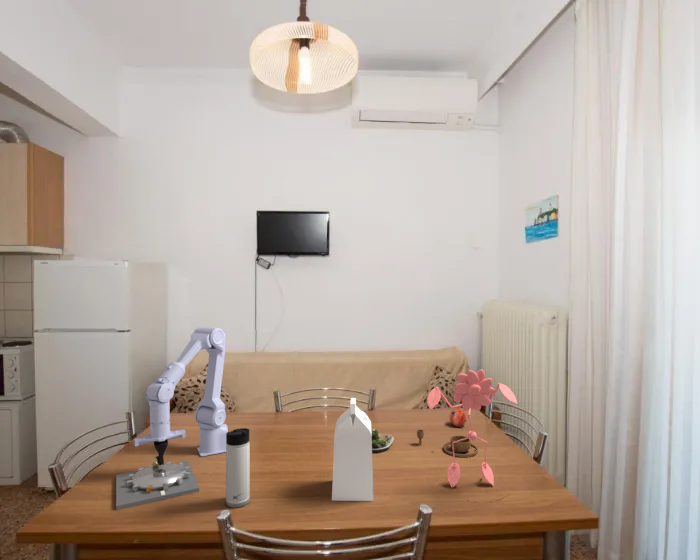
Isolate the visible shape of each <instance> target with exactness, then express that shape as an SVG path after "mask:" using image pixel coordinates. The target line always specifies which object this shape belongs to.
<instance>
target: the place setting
mask: <svg viewBox="0 0 700 560" xmlns="http://www.w3.org/2000/svg"><path fill="white" fill-rule="evenodd" d="M424 433H425V432H424V429H417V430H416V437H417V438H418V439H419V440H418V446H420V447H421V446H422V442H423V441H422V440H423V438H424V436H425V435H424ZM467 437H468V436H464V435H453V436H451V437H450V441H448V442H445V443H444V444H443V451H444V452H445V453H448V455H449V454H450V455H449V456H452V455H453V451H451V450H450V451H449V450H447V448H448V447H447V446H449V445H451V446H449V447H451V448H452V449H453V447H452V443H453V442H455V441H458V440H461V439H464V438H467ZM471 441H472V440H469V438H468V439H465V440H462V441H459V442H456V443H453V444H454V456H455V457H456V456H460V457H459V458H469V457H468V456H472V457H474V456H473V455H475V454H476V455H477V454H478V452H479V450H478V449H479V448H477V447H478V446H477V445H475V444H472V443H471ZM470 446H471V447H473V448H475V449H476V450H477V451H476V452H475V451H474V452H472V453H467V451H469V450H470V449H471V448H470ZM476 446H477V447H476ZM446 447H447V448H446ZM445 448H446V449H445ZM456 451H457V452H456ZM455 452H456V453H455ZM458 452H465V453H458ZM431 453H434V451H431ZM476 455H475V456H476Z"/></svg>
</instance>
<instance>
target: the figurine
mask: <svg viewBox="0 0 700 560" xmlns="http://www.w3.org/2000/svg"><path fill="white" fill-rule="evenodd" d="M466 373H467V374H466ZM466 373H459V374H457V376H456V379H457V382H459V383H456V385H454V386H453V387H452V391H453V392H454V396H453V402H455V403H460V402H461V404H456V405H453V406H452V404H451V403H450V402H449V401H448V399H447V398H446V397H445V396H444V394H443V392H441V390H440V389H439V387H438V386H436V387H435V388H432V389H431V391H429V393H428V395H427V399H426V403H427V405H428V408H429V410H432V409H433V408H435V407H436V406H437V405H438V404H439V402H440V400H441V398H443V399H444V401H445V402H446V404H447V406H449V407H450V408H451V409H452V410H453V409H457V408H460V407H462V410H463V411H464V412H468V413H467V417H468V418H467V419H468V422H469V426H470V431H468V432H467V436H466V437H467V438H464V439H461V440H458V441H455V442H453V443H456V442H459V441H462V440H465V439H468V438H469V440H471V441H475V440H477V439H478V440H479V441H482V442H484V443H485V455H484V456H485V457H484V461H483V462H481V464H480V465H481V466H480V467H481V475H480V479H481V478H485V481H487V482H488V484H490V485H491V486H493V487H494V485H495V484H494V483H495V477H494V471H493V470H492V468H491V466H490V465H489V464H488V463H487V453H488V441H487V440H485V439H482V438H480V437H478V434H477V432H476V431H474V429H473V424H472V418H471V410H474V411H475V412H479V411H480V410H481V409H482V406H484V407H485V406H487V407H490V405H491V403H492V401H493V398H494V396H495V394H496V393H497V391H498V390H499V391H500V393H501V395H502V396H503V397H504V398H505V399H506V400H508V401H509V402H510V403H513V404H515V405H518V400H517V398H516V395H515V393H514V392H513V391H512V390H511V389H510V387H508V386H507V385H505V384H504V383H501V382H498V383H497V385H496V387H495V388H494V387H491V386H492V384H493V378H491V377H489V378H486V374H485V371H484V370H483V369H478V371H477V372H475V371H474V370H470V369H469V370H468V371H467V372H466ZM489 397H490V398H489ZM471 408H472V409H471ZM453 443H452V447H453V448H452V447H451V448H452V452H453V456H452V457H453V462H451V463H450V465H449V466H448V469H447V472H446V476H447V477H446V478H447V480H448V483H449V486H450V487H451V488H454V487H455V486H456V484H457V483H458V482H459V481H460V479H461V468H460V465H459V464H458V463H457V462H456V456H454V453H455V450H454V444H453ZM507 497H508V495H506V496H505V497H503V498H500V499H497V500H496V502H497V501H501V500H505V499H507ZM465 500H466V499H465ZM466 501H467V502H469V500H466ZM473 501H474V500H473ZM492 501H493V500H492ZM492 501H490V503H493V502H492ZM473 503H476V501H474V502H473Z"/></svg>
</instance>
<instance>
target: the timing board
mask: <svg viewBox="0 0 700 560" xmlns="http://www.w3.org/2000/svg"><path fill="white" fill-rule="evenodd" d="M181 462H182V463H184V467H187V466H190V471H189V472H190V477H189V478H184V479H183V483H182V484H180V485H179V484H175V485H172V486H170V487H168V489H167V490H163V488H162V489H157V490H152V491H151V492H146V490H140V489H139V490H137V491H133V490H132V486H133V485H132V486H128V487H127V481H129V480H128V476H129V475H130V474H135V473H137V472H138V470H133V471H129V472H123V473H118V474H115V476H116V477H115V481H116V482H115V485H116V486H115V487H116V488H115V491H116V492H115V494H116V497H115V498H116V499H115V501H116V502H115V510H116V511H118V510H122V509H126V508H131V507H135V506H140V505H144V504H150V503H153V502H158V501H162V500H166V499H171V498H176V497H180V496H184V495H189V494H192V493H198V492H200V487H199V485H198V482H197V480H196V477H195V474H194V472H193V470H192V466H191V464H190V461H189V460H187V461H181ZM181 462H177V463H176V462H175V463H174V464H179V463H181Z"/></svg>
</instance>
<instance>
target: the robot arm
mask: <svg viewBox="0 0 700 560" xmlns="http://www.w3.org/2000/svg"><path fill="white" fill-rule="evenodd" d="M226 336H227V334H226V333H225V332H224V331H223V329H222V328H220V327H206V326H205V327H204V326H198V327H196V328H195V329H194V330H193V332H192V333H191V335H190V340H189V342H188V343H187V345H186V346H185V348H184V349H183V351H182V352H181V354H179V357H178V358H177V359H176V361H175V362H170V363H169V364H167V365H166V367H165V369H164V371H163V372H162V373H161V374H160V376H159V377H158V378H157V379H156V381H155V382H152V383H151V384H149V386H147V389H146V391H145V392H144V396H145V398H146V400H147V401H148V405H149V423H150V424H149V426H150V427H149V429H150V431H149V432H150V434H147V435H146V434H145V435H143V436H140V437H136V438H134V447H138V446H142V445H148V444H153V446H154V448H155V450H156V452H157V454H158V456H159V465H164V464H165V460H164V455H165V452H166V449H167V447H168V445H169V440H174V439H175V440H176V439H179V438H181V439H184V438H186V430H185V429H178V430H171V412H170V409H171V408H170V407H171V405H170V404H171V403H170V400H171V399H172V398H173V396H174V394H175V389H176V386H177V385H178V383H179V382H180V381H181V379H182V378H183V377H184V375H185V374H186V367H187V366H188V364H190V362H191V361H192V360H193V359H194V358H195V356H197V355H198V353H199V352H200V351H201V350H205V351H206V352H207V353H208V360H207V368H206V370H207V371H206V379H205V386H204V387H205V388H204V394H203V398H202V399H201V400H199V402H198V404H197V408H196V411H195V413H194V419H195V422H196V423H198V427H199V447H196V450H197V452H198V454H199V456H200V457H206V456H213V455H217V454H223V453H226V433H227V432H229V430H228V429H229V427H228V425H227V424H226V423H225V421H226V417H227V413H226V410H225V409H226V404H225V403H224V402H223V400H222V399H221V391H222V384H223V383H222V382H223V374H224V365H225V356H226Z"/></svg>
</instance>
